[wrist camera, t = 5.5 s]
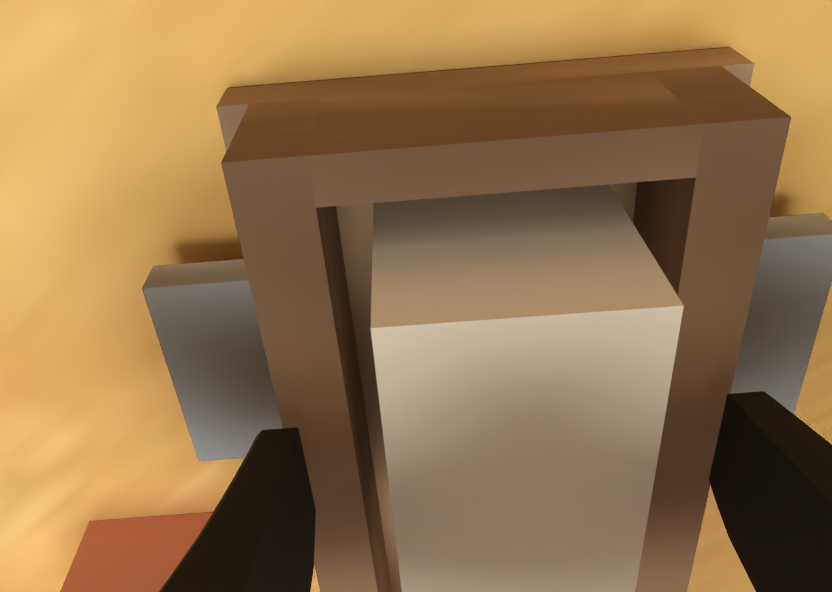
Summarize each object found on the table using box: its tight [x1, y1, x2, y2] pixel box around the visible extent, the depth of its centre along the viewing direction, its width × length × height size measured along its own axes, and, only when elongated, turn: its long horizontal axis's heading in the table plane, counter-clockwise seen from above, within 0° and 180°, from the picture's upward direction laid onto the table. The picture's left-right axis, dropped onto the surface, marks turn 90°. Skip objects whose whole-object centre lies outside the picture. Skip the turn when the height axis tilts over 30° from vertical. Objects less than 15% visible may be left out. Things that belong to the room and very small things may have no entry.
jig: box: [142, 47, 832, 592], centre depth 16 cm, size 16×13×4 cm
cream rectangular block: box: [371, 184, 684, 592], centre depth 13 cm, size 8×4×4 cm, turn 4°
